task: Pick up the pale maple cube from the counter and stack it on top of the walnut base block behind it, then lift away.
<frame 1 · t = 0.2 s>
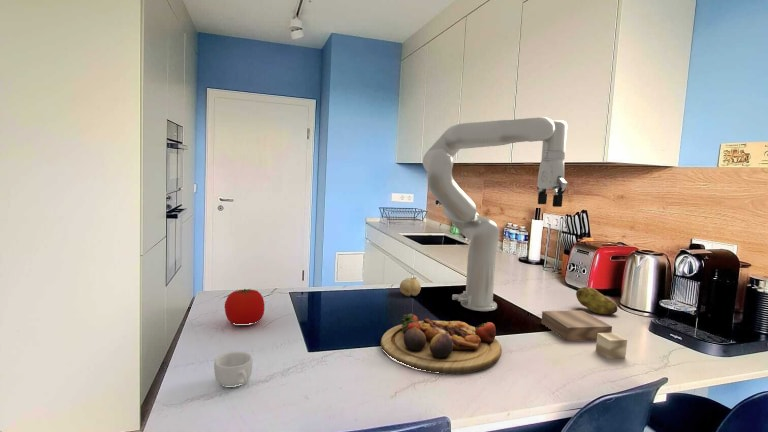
hand: (549, 205, 149), 37 cm above the worktop, tool pointing down, fingers open, 9 cm apart
maple cube: (610, 354, 113), on the worktop
cream round lump: (409, 295, 160), on the worktop
teacup: (235, 385, 90), on the worktop
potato: (594, 312, 148), on the worktop
walnut base block: (574, 331, 128), on the worktop
tomato: (245, 324, 125), on the worktop
wooden plate with food: (439, 349, 113), on the worktop
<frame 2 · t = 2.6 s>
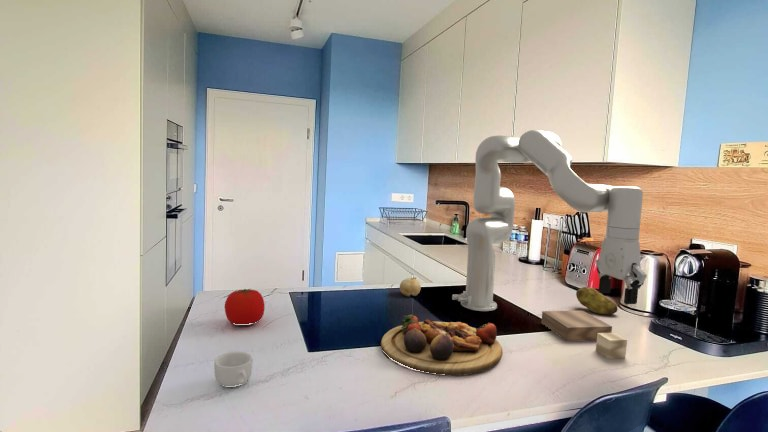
hand: (616, 298, 111), 15 cm above the worktop, tool pointing down, fingers open, 9 cm apart
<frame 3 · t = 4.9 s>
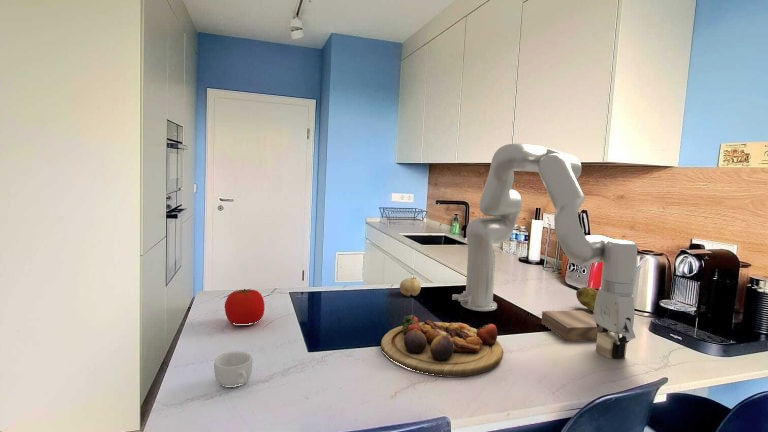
hand: (610, 352, 113), 0 cm above the worktop, tool pointing down, fingers closed on maple cube, 5 cm apart
maple cube: (610, 354, 113), on the worktop, touching gripper
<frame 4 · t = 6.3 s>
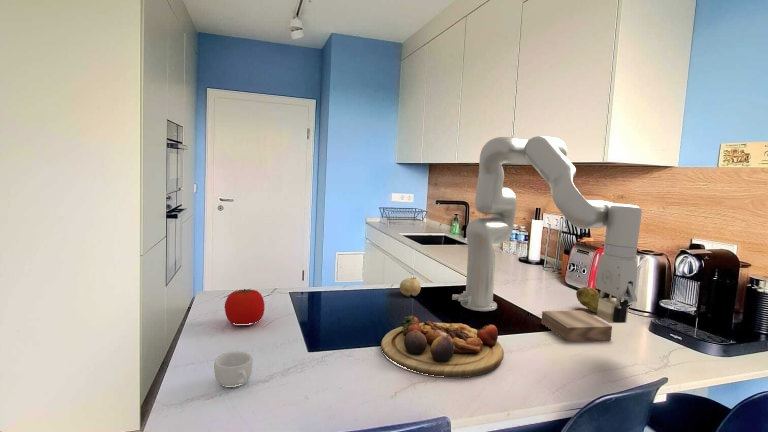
hand: (611, 317, 112), 10 cm above the worktop, tool pointing down, fingers closed on maple cube, 5 cm apart
maple cube: (611, 319, 112), point 9 cm above the worktop, touching gripper
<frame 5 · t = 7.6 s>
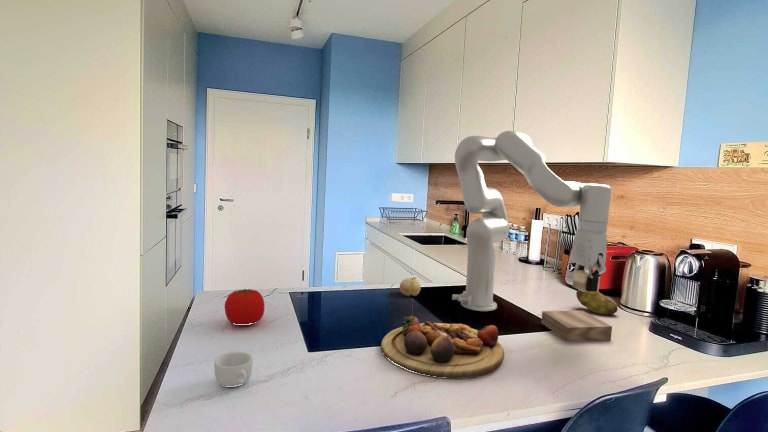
hand: (585, 287, 123), 15 cm above the worktop, tool pointing down, fingers closed on maple cube, 5 cm apart
maple cube: (585, 289, 123), point 14 cm above the worktop, touching gripper
when the fingers open (6 cm above the worktop, at t = 10.5 s): maple cube drops 1 cm, resting on walnut base block.
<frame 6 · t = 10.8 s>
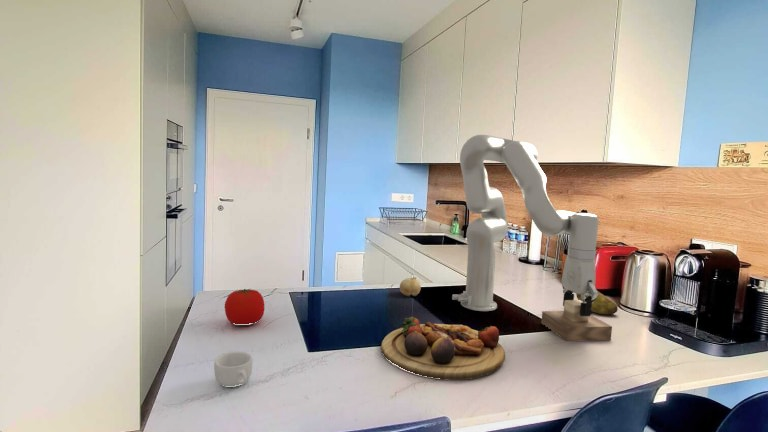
hand: (576, 310, 128), 6 cm above the worktop, tool pointing down, fingers open, 8 cm apart
maple cube: (575, 318, 128), point 4 cm above the worktop, touching walnut base block
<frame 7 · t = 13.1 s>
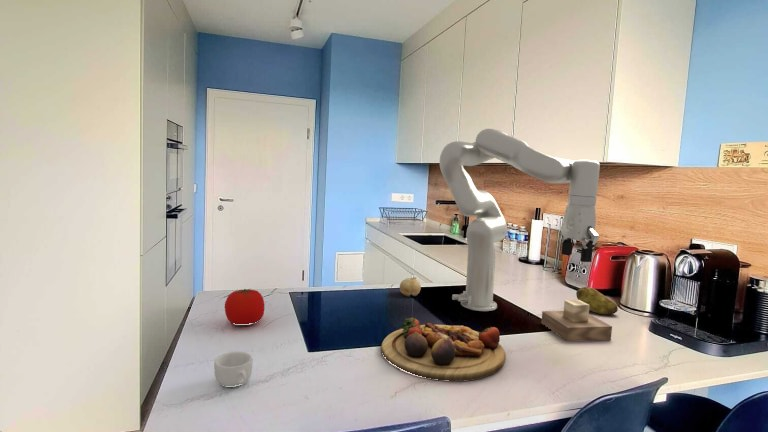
hand: (575, 257, 127), 22 cm above the worktop, tool pointing down, fingers open, 9 cm apart
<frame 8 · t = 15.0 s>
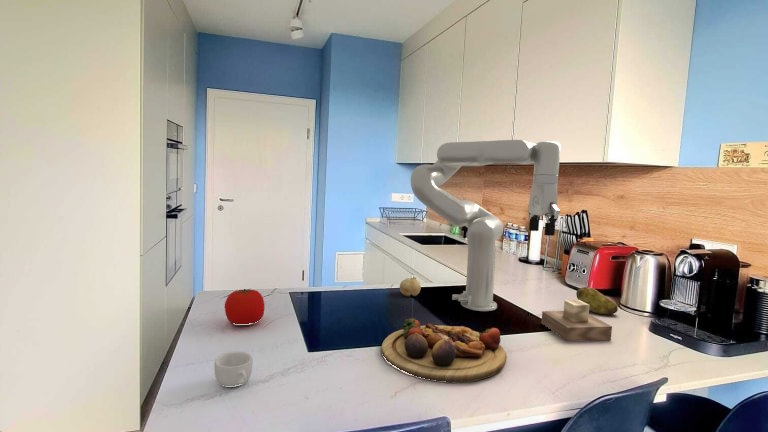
hand: (541, 233, 137), 28 cm above the worktop, tool pointing down, fingers open, 9 cm apart
at the end: maple cube inside the target area on the walnut base block (0.1 cm from its centre), point 4.0 cm above the walnut base block's base; maple cube tilted 0°; the gripper is holding nothing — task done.
